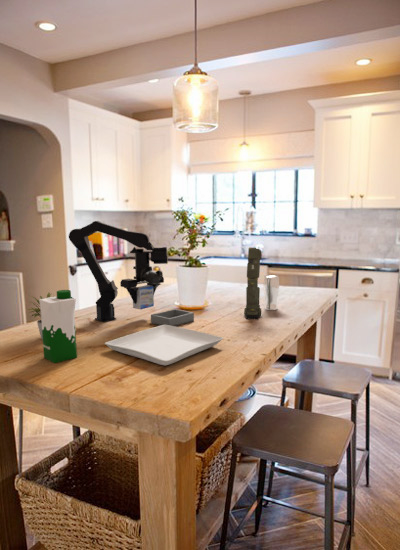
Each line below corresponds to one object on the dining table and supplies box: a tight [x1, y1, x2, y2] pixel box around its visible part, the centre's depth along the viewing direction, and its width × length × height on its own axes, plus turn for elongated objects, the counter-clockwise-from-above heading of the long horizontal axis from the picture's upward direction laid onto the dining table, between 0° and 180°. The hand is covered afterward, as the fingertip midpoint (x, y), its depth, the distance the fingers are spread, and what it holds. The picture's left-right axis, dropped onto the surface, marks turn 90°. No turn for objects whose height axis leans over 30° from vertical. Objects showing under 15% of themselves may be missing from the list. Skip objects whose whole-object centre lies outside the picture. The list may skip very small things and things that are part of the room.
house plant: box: [28, 292, 57, 341], centre depth 141 cm, size 14×14×16 cm
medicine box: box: [132, 284, 155, 311], centre depth 166 cm, size 8×4×9 cm, turn 142°
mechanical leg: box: [243, 247, 262, 320], centre depth 171 cm, size 14×7×30 cm, turn 168°
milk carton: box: [38, 289, 78, 364], centre depth 120 cm, size 9×9×20 cm
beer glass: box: [263, 274, 280, 311], centre depth 183 cm, size 7×7×15 cm
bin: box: [150, 308, 195, 327], centre depth 161 cm, size 14×11×4 cm
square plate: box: [104, 325, 224, 366], centre depth 128 cm, size 27×27×4 cm
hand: (143, 301), depth 166 cm, fingers closed on medicine box, 8 cm apart
